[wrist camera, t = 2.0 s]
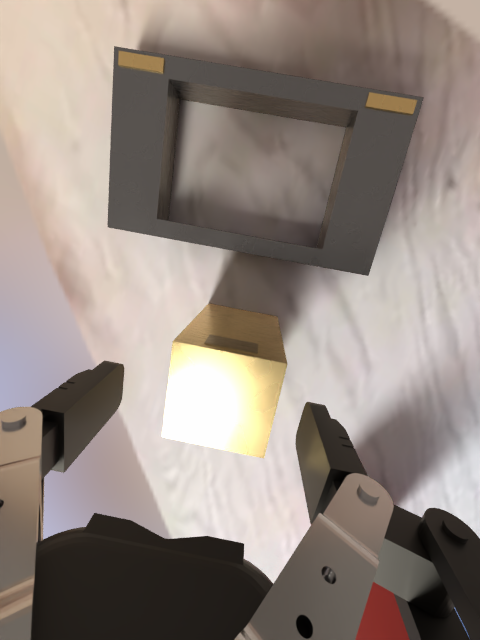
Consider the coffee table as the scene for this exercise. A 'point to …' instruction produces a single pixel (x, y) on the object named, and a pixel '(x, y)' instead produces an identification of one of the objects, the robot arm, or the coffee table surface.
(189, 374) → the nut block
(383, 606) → the beer can
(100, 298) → the coffee table surface
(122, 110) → the grey rectangular frame
